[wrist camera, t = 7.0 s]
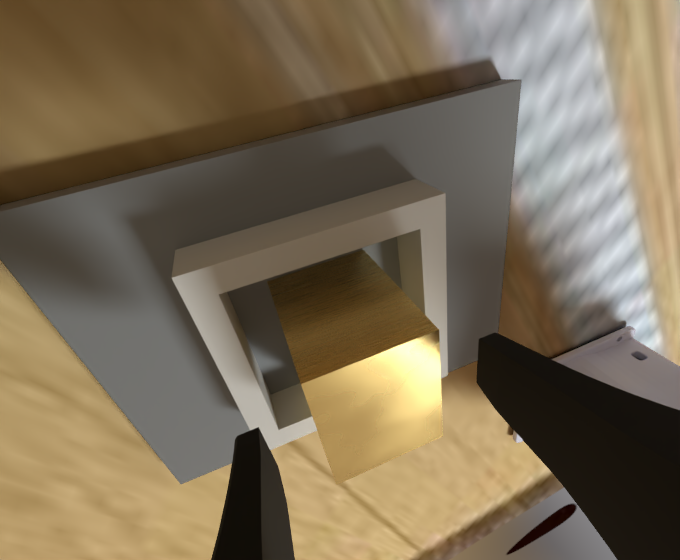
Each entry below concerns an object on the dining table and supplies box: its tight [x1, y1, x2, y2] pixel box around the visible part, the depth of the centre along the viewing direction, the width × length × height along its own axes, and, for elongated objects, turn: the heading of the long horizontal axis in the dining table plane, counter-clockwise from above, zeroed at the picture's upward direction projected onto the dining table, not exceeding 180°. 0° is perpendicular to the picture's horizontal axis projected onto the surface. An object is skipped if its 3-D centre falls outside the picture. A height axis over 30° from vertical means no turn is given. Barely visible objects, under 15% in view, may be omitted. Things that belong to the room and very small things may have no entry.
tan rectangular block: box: [267, 250, 443, 484], centre depth 13 cm, size 4×5×6 cm
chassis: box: [0, 79, 521, 484], centre depth 15 cm, size 18×14×3 cm
